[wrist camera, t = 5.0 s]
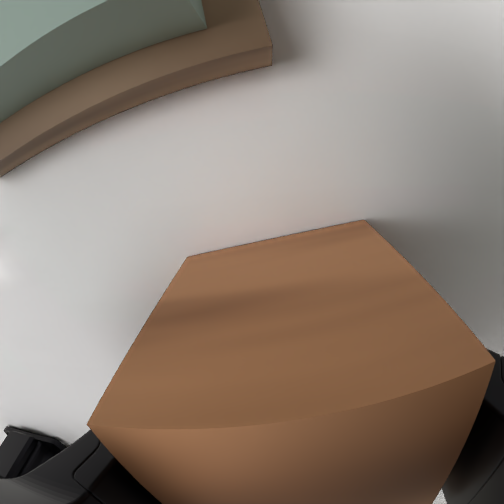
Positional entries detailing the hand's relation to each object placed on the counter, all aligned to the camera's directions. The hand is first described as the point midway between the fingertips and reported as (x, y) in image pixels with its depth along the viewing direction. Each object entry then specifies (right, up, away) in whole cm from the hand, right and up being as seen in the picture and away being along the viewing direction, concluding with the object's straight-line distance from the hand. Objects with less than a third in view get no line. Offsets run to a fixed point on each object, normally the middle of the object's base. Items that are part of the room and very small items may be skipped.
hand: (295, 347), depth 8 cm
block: (0, +1, +1) cm, 2 cm away
